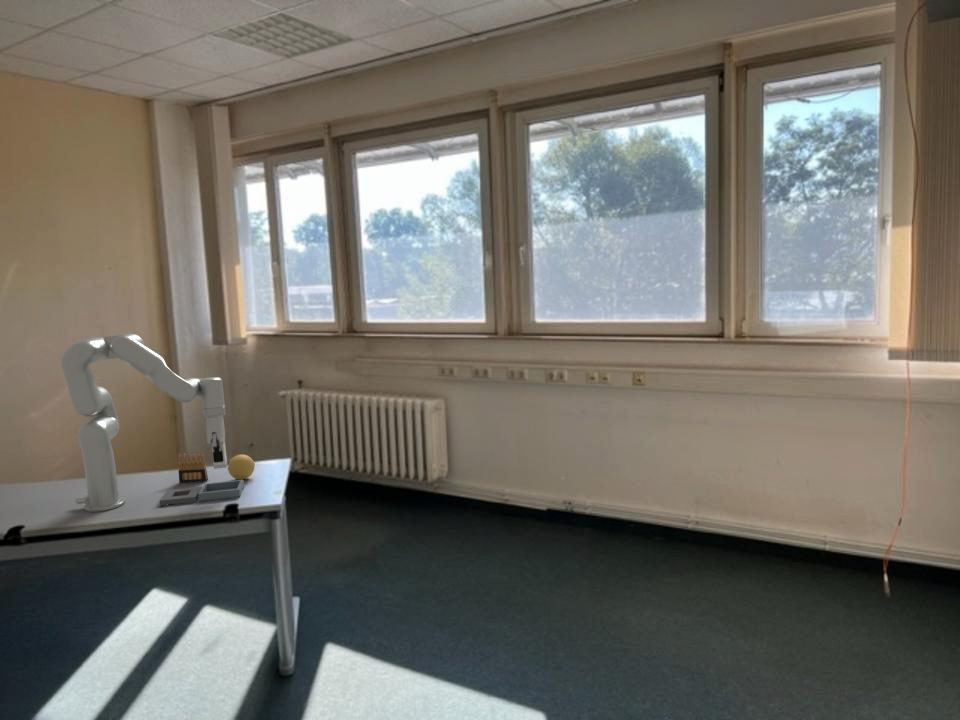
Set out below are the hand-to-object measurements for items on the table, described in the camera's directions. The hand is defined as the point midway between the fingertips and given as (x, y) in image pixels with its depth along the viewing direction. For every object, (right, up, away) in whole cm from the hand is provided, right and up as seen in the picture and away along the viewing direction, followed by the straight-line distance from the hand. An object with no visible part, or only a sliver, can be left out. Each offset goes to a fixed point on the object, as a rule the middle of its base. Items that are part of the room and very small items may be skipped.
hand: (219, 459), depth 240 cm
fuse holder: (-13, -14, -1) cm, 19 cm away
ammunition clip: (-18, -12, +19) cm, 29 cm away
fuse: (0, -3, 0) cm, 3 cm away
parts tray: (0, -13, +2) cm, 13 cm away
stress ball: (+2, -11, +19) cm, 22 cm away
